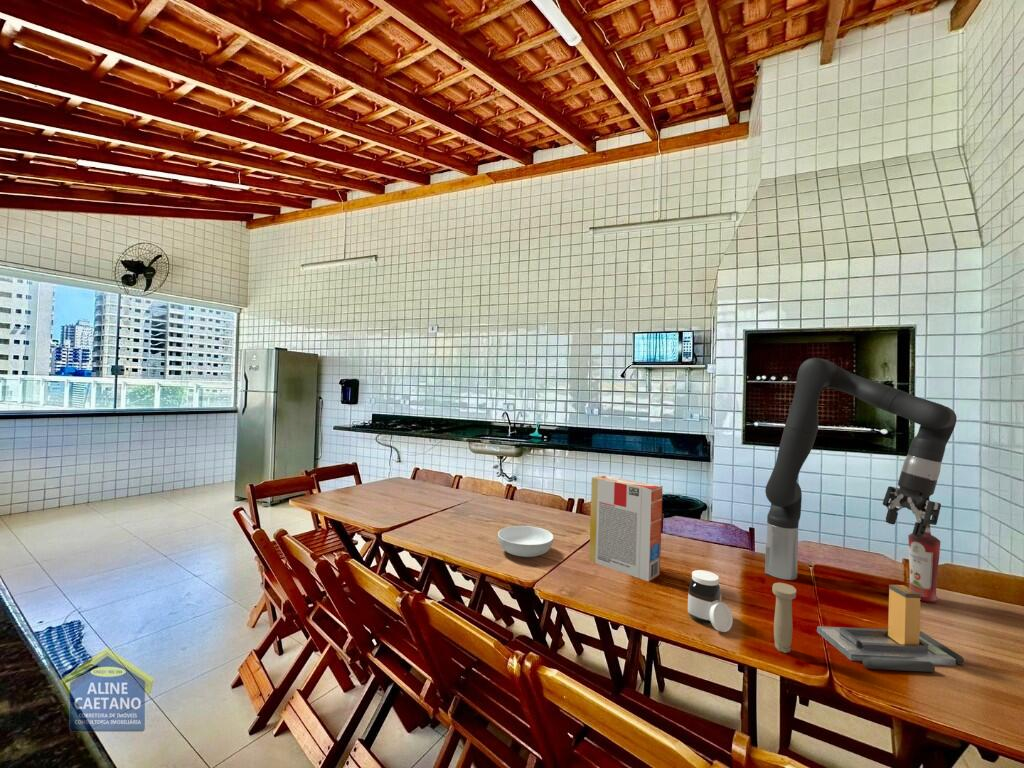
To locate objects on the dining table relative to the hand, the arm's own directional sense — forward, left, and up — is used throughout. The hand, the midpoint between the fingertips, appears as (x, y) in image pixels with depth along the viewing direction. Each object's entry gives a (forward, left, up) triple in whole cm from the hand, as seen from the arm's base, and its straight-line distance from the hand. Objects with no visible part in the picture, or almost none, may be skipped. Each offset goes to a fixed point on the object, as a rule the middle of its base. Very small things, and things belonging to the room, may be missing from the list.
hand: (903, 529), depth 123 cm
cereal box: (-75, -16, -26) cm, 80 cm away
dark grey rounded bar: (+6, -14, -25) cm, 29 cm away
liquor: (+7, +22, -26) cm, 35 cm away
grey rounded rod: (-3, -30, -25) cm, 39 cm away
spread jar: (-43, -35, -26) cm, 61 cm away
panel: (-6, -21, -25) cm, 33 cm away
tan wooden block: (-1, -18, -24) cm, 30 cm away
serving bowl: (-109, -27, -26) cm, 115 cm away
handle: (-26, -38, -26) cm, 52 cm away
